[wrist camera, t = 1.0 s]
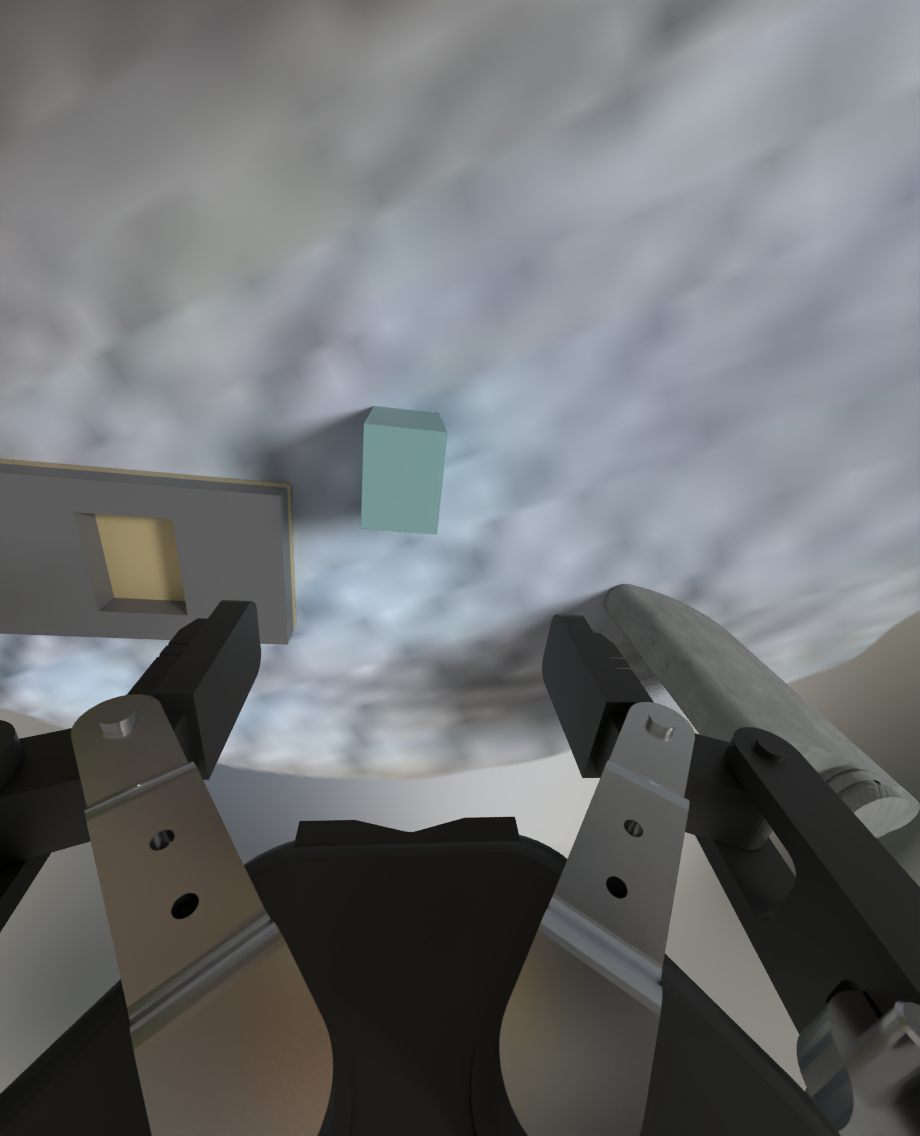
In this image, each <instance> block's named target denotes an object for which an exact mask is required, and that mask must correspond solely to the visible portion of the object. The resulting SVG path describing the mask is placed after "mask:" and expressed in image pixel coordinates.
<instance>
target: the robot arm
mask: <svg viewBox="0 0 920 1136" xmlns="http://www.w3.org/2000/svg"><path fill="white" fill-rule="evenodd" d="M260 661H261V646H260V636H259V625H258V615H257V607H256V604H255V602H254V601H239V600H222V601H220V603H219V604H218V605H217V607H216V608H215V609H214V611H213V612H212V613H211V615H210V616H209V617H208V619H207V618H197V619H196V620H194V621H193V622H191V623H189V624H188V625H186V626H184V627H183V628H181V629H180V630H179V631H178V632H177V633H176V635H175V636H174V637H173V638H172V639H171V641H170V642H169V645H168V646H166V647H165V648H164V649H163V651H162V652H161V653H160V656H159V657H157V658H156V659H155V660H154V662H153V663H152V664H151V665H150V667H149V668H148V669H147V670H146V672H145V673H144V674H143V675H142V677H141V678H140V679H139V680H138V682H137V683H136V684H135V685H134V686H133V688H132V689H131V690H130V691H129V693H128V694H127V695H125V696H120V697H116V698H112V699H110V700H107V701H104V702H102V703H100V704H98V705H96V706H94V707H92V708H91V709H89V710H88V711H86V712H85V713H84V714H83V715H82V716H80V717H79V718H78V720H77V721H76V722H75V723H74V725H73V727H72V728H70V729H66V730H61V731H56V732H51V733H47V734H41V735H36V736H31V737H26V738H21V739H19V738H18V736H17V733H16V731H15V728H14V727H13V725H11V724H10V723H8V722H6V721H2V720H0V932H1V930H2V929H3V927H4V926H5V924H6V923H7V921H8V919H9V918H10V916H11V915H12V913H13V912H14V910H15V909H16V907H17V905H18V904H19V902H20V901H21V899H22V898H23V896H24V894H25V893H26V891H27V890H28V888H29V887H30V885H31V883H32V882H33V880H34V879H35V877H36V876H37V874H38V873H39V871H40V869H41V868H42V866H43V865H44V863H45V862H46V860H47V858H48V857H49V855H50V854H51V852H55V851H58V850H62V849H65V848H69V847H72V846H76V845H79V844H83V843H86V842H89V841H91V845H92V849H93V854H94V859H95V863H96V867H97V873H98V876H99V882H100V886H101V891H102V895H103V900H104V904H105V909H106V914H107V918H108V923H109V927H110V932H111V936H112V941H113V945H114V950H115V954H116V959H117V964H118V968H119V973H120V977H121V979H120V980H119V981H118V982H117V983H116V984H115V985H114V986H113V987H112V988H111V989H110V990H109V991H108V992H107V993H105V995H103V996H102V998H100V999H99V1000H98V1001H97V1002H96V1003H95V1004H94V1005H93V1006H92V1007H91V1008H90V1009H89V1010H88V1011H87V1012H86V1013H84V1014H83V1015H82V1016H81V1017H80V1018H79V1019H78V1020H77V1021H76V1022H75V1023H74V1024H73V1025H72V1026H71V1027H70V1028H69V1029H68V1030H67V1031H66V1032H65V1033H64V1034H62V1035H61V1036H60V1037H59V1038H58V1039H57V1040H56V1041H55V1042H54V1043H53V1044H52V1045H51V1046H50V1047H49V1048H48V1049H47V1050H46V1051H45V1052H44V1053H42V1054H41V1055H40V1056H39V1057H38V1058H37V1059H36V1060H35V1061H34V1062H33V1063H32V1064H31V1065H30V1066H29V1067H28V1068H27V1069H26V1070H25V1071H24V1072H23V1073H21V1075H19V1076H18V1077H17V1078H16V1079H15V1080H14V1081H13V1082H12V1083H11V1084H10V1085H9V1086H8V1087H7V1088H6V1089H5V1090H4V1091H3V1092H2V1093H1V1094H0V1136H920V887H919V886H918V885H917V884H916V883H915V881H914V880H913V879H912V878H911V877H910V876H909V875H908V874H907V872H906V871H905V870H904V869H903V868H902V867H901V866H900V865H899V863H898V862H897V861H896V860H895V859H894V858H893V857H892V856H891V854H890V853H889V852H888V851H887V850H886V849H885V848H884V847H883V845H882V844H881V843H880V842H879V841H878V840H877V839H876V838H875V836H874V835H873V834H872V833H871V832H870V831H869V830H868V829H867V827H866V826H865V825H864V824H863V823H862V822H861V821H860V820H859V818H858V817H857V816H856V815H855V814H854V813H853V812H852V811H851V809H850V808H849V807H848V806H847V805H846V804H845V803H844V802H843V800H842V799H841V798H840V797H839V796H838V795H837V794H836V793H835V791H834V790H833V789H832V788H831V787H830V786H829V785H828V784H827V782H826V781H825V780H824V779H823V778H822V777H821V776H820V775H819V773H818V772H817V771H816V770H815V769H814V768H813V767H812V766H811V764H810V763H809V762H808V761H807V760H806V759H805V758H804V757H803V755H802V754H801V753H800V752H799V751H798V750H797V749H796V748H795V747H794V746H792V745H791V744H790V743H789V742H787V741H786V740H784V739H783V738H781V737H779V736H777V735H775V734H773V733H771V732H769V731H766V730H763V729H760V728H755V727H742V728H739V729H737V730H736V731H735V732H734V734H733V736H732V738H731V740H730V742H727V741H723V740H719V739H715V738H711V737H707V736H703V735H699V734H696V733H694V731H693V728H692V727H691V726H690V724H689V722H688V721H687V720H686V719H685V718H684V717H682V716H681V715H680V714H679V713H677V712H676V711H674V710H672V709H670V708H668V707H666V706H663V705H661V704H657V703H654V702H653V700H652V699H651V698H650V696H649V695H648V693H647V692H646V690H645V689H644V687H643V686H642V684H641V683H640V681H639V680H638V678H637V677H636V676H635V674H634V673H633V671H632V670H630V667H629V665H628V664H627V662H626V661H625V660H623V656H622V655H621V654H620V652H619V651H618V649H617V648H616V646H615V645H614V644H613V643H612V642H610V641H609V640H608V639H606V638H605V637H604V636H603V635H601V634H597V633H594V632H593V631H592V629H591V628H590V626H589V625H588V623H587V621H586V620H585V618H584V617H583V616H581V615H555V616H554V617H553V619H552V622H551V626H550V631H549V635H548V639H547V644H546V648H545V653H544V657H543V663H542V673H543V679H544V683H545V685H546V688H547V690H548V693H549V695H550V698H551V700H552V703H553V705H554V708H555V710H556V713H557V715H558V718H559V720H560V723H561V725H562V728H563V730H564V733H565V735H566V738H567V740H568V743H569V745H570V748H571V750H572V753H573V755H574V758H575V760H576V763H577V765H578V768H579V770H580V773H581V775H582V778H600V780H599V783H598V786H597V788H596V790H595V793H594V795H593V798H592V800H591V803H590V805H589V808H588V810H587V813H586V815H585V818H584V820H583V822H582V825H581V828H580V830H579V832H578V835H577V837H576V840H575V842H574V845H573V847H572V850H571V852H570V854H569V857H568V859H567V858H565V857H564V856H563V855H561V854H560V853H559V852H557V851H555V850H554V849H552V848H551V847H549V846H547V845H545V844H543V843H541V842H539V841H537V840H534V839H531V838H528V837H526V836H521V835H519V833H518V829H517V824H516V820H515V817H482V818H481V817H480V818H462V819H459V820H455V821H451V822H448V823H444V824H441V825H437V826H434V827H430V828H427V829H423V830H419V831H415V832H405V831H400V830H396V829H392V828H387V827H383V826H378V825H374V824H370V823H366V822H361V821H357V820H337V821H336V820H334V821H300V822H299V827H298V831H297V835H296V839H295V840H294V841H291V842H287V843H284V844H282V845H279V846H277V847H274V848H272V849H270V850H268V851H266V852H264V853H262V854H260V855H258V856H256V857H255V858H253V859H252V860H250V861H249V862H247V863H246V864H244V865H243V863H242V860H241V858H240V856H239V854H238V852H237V850H236V848H235V846H234V844H233V842H232V840H231V837H230V835H229V834H228V832H227V829H226V827H225V825H224V823H223V821H222V819H221V817H220V814H219V812H218V810H217V808H216V806H215V804H214V802H213V800H212V798H211V796H210V793H209V791H208V790H207V787H206V785H205V783H204V781H203V780H209V778H210V776H211V774H212V772H213V769H214V767H215V765H216V763H217V761H218V759H219V757H220V754H221V752H222V750H223V748H224V746H225V744H226V741H227V739H228V737H229V735H230V733H231V731H232V729H233V726H234V724H235V722H236V720H237V718H238V716H239V713H240V711H241V709H242V707H243V705H244V703H245V700H246V698H247V696H248V694H249V692H250V690H251V687H252V685H253V683H254V681H255V679H256V677H257V674H258V671H259V667H260ZM772 830H773V831H774V832H775V834H776V835H777V837H778V838H779V840H780V841H781V843H782V844H783V845H784V847H785V848H786V850H787V851H788V853H789V854H790V856H791V858H792V860H793V863H794V865H795V869H796V877H795V876H794V874H793V873H792V871H791V870H790V868H789V867H788V865H787V864H786V862H785V861H784V859H783V858H782V856H781V855H780V853H779V852H778V850H777V849H776V847H775V846H774V844H773V843H772V841H771V840H770V838H769V835H770V834H771V832H772ZM685 832H687V833H690V834H694V835H695V836H696V838H697V840H698V841H699V843H700V845H701V847H702V849H703V851H704V853H705V855H706V857H707V859H708V861H709V863H710V864H711V866H712V868H713V870H714V872H715V874H716V876H717V878H718V880H719V881H720V883H721V885H722V887H723V889H724V891H725V893H726V895H727V897H728V899H729V901H730V903H731V904H732V907H733V908H734V910H735V912H736V914H737V916H738V918H739V920H740V922H741V924H742V926H743V927H744V929H745V931H746V933H747V935H748V937H749V939H750V941H751V943H752V945H753V947H754V949H755V950H756V952H757V954H758V956H759V958H760V960H761V962H762V964H763V966H764V968H765V969H766V972H767V974H768V975H769V977H770V979H771V981H772V983H773V985H774V987H775V989H776V991H777V993H778V995H779V996H780V998H781V1000H782V1002H783V1004H784V1006H785V1008H786V1010H787V1012H788V1014H789V1016H790V1018H791V1019H792V1021H793V1023H794V1025H795V1027H796V1029H797V1031H798V1033H799V1037H798V1040H797V1059H798V1064H799V1068H800V1072H801V1074H802V1077H803V1080H804V1082H805V1085H806V1087H807V1088H806V1091H804V1090H803V1089H802V1088H801V1087H800V1086H799V1085H798V1084H797V1083H796V1082H795V1081H794V1080H793V1079H792V1078H791V1077H790V1076H789V1075H788V1074H787V1073H786V1072H785V1071H784V1070H783V1069H782V1068H781V1067H780V1066H779V1065H778V1064H777V1063H776V1062H775V1061H774V1060H773V1059H772V1058H771V1057H770V1056H769V1055H768V1054H767V1053H766V1052H765V1051H764V1050H763V1049H762V1048H761V1047H760V1046H759V1045H758V1044H757V1043H756V1042H755V1041H753V1040H752V1039H751V1038H750V1037H749V1036H748V1035H747V1034H746V1033H745V1032H744V1031H743V1030H742V1029H741V1028H740V1027H739V1026H738V1025H737V1024H736V1023H735V1022H734V1021H733V1020H732V1019H731V1018H730V1017H729V1016H728V1015H727V1014H726V1013H725V1012H724V1011H723V1010H722V1009H721V1008H720V1007H719V1006H718V1005H717V1004H716V1003H715V1002H714V1001H713V1000H712V999H711V998H710V997H708V995H707V994H706V993H704V991H703V990H702V989H701V988H699V986H698V985H697V984H696V983H694V982H693V981H692V980H691V979H690V978H689V977H688V976H687V975H686V974H685V973H684V972H683V971H682V970H681V969H680V968H679V967H678V966H677V965H676V964H675V963H674V962H673V961H672V960H671V959H670V958H669V957H668V956H667V955H666V954H665V948H666V942H667V936H668V930H669V923H670V918H671V912H672V906H673V900H674V894H675V888H676V882H677V876H678V870H679V864H680V858H681V852H682V846H683V840H684V834H685Z"/></svg>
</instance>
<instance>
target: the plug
mask: <svg viewBox="0 0 920 1136" xmlns="http://www.w3.org/2000/svg"><path fill="white" fill-rule="evenodd" d="M446 442H447V430H446V428H445V426H444V424H443V421H442V419H441V417H440V415H439V413H431V412H422V411H413V410H404V409H396V408H387V407H378V406H374V407H373V409H372V410H371V412H370V414H369V416H368V417H367V419H366V421H365V422H364V431H363V468H362V505H361V529H369V530H382V531H396V532H409V533H423V534H437V529H438V519H439V509H440V500H441V490H442V480H443V471H444V461H445V451H446Z"/></svg>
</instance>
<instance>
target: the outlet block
mask: <svg viewBox="0 0 920 1136" xmlns="http://www.w3.org/2000/svg"><path fill="white" fill-rule="evenodd" d="M222 600H239V601H254V602H255V604H256V607H257V615H258V625H259V636H260V643H262V644H288V643H289V640H290V638H291V635H292V633H293V630H294V628H295V626H296V604H295V579H294V554H293V530H292V505H291V484H287V483H276V482H264V481H252V480H241V479H229V478H218V477H206V476H194V475H183V474H171V473H159V472H148V471H136V470H124V469H113V468H101V467H90V466H78V465H66V464H55V463H43V462H31V461H20V460H8V459H0V633H3V634H29V635H55V636H81V637H106V638H132V639H158V640H171V639H172V638H173V637H174V636H175V635H176V633H177V632H178V631H179V630H180V629H181V628H183V627H184V626H186V625H188V624H189V623H191V622H193V621H194V620H196V619H197V618H207V619H208V617H209V616H210V615H211V613H212V612H213V611H214V609H215V608H216V607H217V605H218V604H219V603H220V601H222Z"/></svg>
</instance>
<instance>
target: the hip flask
mask: <svg viewBox="0 0 920 1136" xmlns="http://www.w3.org/2000/svg"><path fill="white" fill-rule="evenodd" d="M604 603H605V608H606V610H607V611H608V612H609V614H610V615H611V616H612V618H613V619H614V620H615V622H616V623H617V624H618V626H619V627H620V628H621V630H622V631H623V632H624V634H625V635H626V636H627V638H628V639H629V641H630V642H631V643H632V645H633V646H634V647H635V649H636V650H637V651H638V653H639V654H640V655H641V657H642V658H643V659H644V661H645V662H646V663H647V665H648V666H649V667H650V669H651V670H652V671H653V673H654V674H655V675H656V677H657V678H658V679H659V681H660V682H661V683H662V685H663V686H664V687H665V689H666V690H667V691H668V693H669V694H670V695H671V697H672V698H673V699H674V701H675V702H676V703H677V705H678V706H679V707H680V709H681V710H682V711H683V713H684V714H685V715H686V717H687V718H688V719H689V721H690V722H691V723H692V725H693V726H694V727H695V729H696V730H697V731H698V733H699V734H700V735H703V736H707V737H711V738H715V739H719V740H723V741H727V742H730V740H731V738H732V736H733V734H734V732H735V731H736V730H737V729H739V728H742V727H755V728H760V729H763V730H766V731H769V732H771V733H773V734H775V735H777V736H779V737H781V738H783V739H784V740H786V741H787V742H789V743H790V744H791V745H792V746H794V747H795V748H796V749H797V750H798V751H799V752H800V753H801V754H802V755H803V757H804V758H805V759H806V760H807V761H808V762H809V763H810V764H811V766H812V767H813V768H814V769H815V770H816V771H817V772H818V773H819V775H820V776H821V777H822V778H823V779H824V780H825V781H826V782H827V784H828V785H829V786H830V787H831V788H832V789H833V790H834V791H835V793H836V794H837V795H838V796H839V797H840V798H841V799H842V800H843V802H844V803H845V804H846V805H847V806H848V807H849V808H850V809H851V811H852V812H853V813H854V814H855V815H856V816H857V817H858V818H859V820H860V821H861V822H862V823H863V824H864V825H865V826H866V827H867V829H868V830H869V831H870V832H871V833H872V834H873V835H874V836H875V838H877V837H881V836H882V835H884V834H887V833H888V832H890V831H892V830H896V829H898V828H900V827H902V826H904V825H906V824H907V823H909V822H910V821H911V820H912V819H913V818H914V817H915V816H916V815H917V813H918V811H919V808H920V806H919V803H918V801H917V800H916V799H915V798H913V797H912V796H911V795H910V794H909V793H908V792H907V791H906V790H905V789H904V788H902V787H901V786H900V785H899V784H898V783H897V782H896V781H894V779H892V778H891V777H890V776H889V775H888V774H887V773H886V772H885V771H883V770H882V769H881V768H880V767H879V766H878V765H877V764H876V763H874V762H873V761H872V760H871V759H870V758H869V757H868V756H867V755H865V754H864V753H863V752H862V751H861V750H860V749H859V748H858V747H857V746H855V745H854V744H853V743H852V742H851V741H850V740H849V739H848V738H846V737H845V736H844V735H843V734H842V733H841V732H840V731H839V730H838V729H836V728H835V727H834V726H833V725H832V724H831V723H830V722H829V721H828V720H826V719H825V718H824V717H823V716H822V715H821V714H820V713H819V712H817V711H816V710H815V709H814V708H813V707H812V706H811V705H810V704H809V703H807V702H806V701H805V700H804V699H803V698H802V697H801V696H800V695H798V694H797V693H796V692H795V691H794V690H793V689H792V688H791V687H789V686H788V685H787V684H786V683H785V682H784V681H783V680H782V679H781V678H779V677H778V676H777V675H776V674H775V673H774V672H773V671H772V670H770V669H769V668H768V667H767V666H766V665H765V664H764V663H763V662H762V661H760V660H759V659H758V658H757V657H756V656H755V655H754V654H753V653H751V652H750V651H749V650H748V649H747V648H746V647H745V646H744V645H743V644H741V643H740V642H739V641H738V640H737V639H736V638H735V637H734V636H732V635H731V634H730V633H729V632H728V631H727V630H725V629H724V628H723V627H722V626H720V625H719V624H718V623H716V622H715V621H713V620H712V619H710V618H709V617H707V616H706V615H704V614H702V613H701V612H699V611H697V610H695V609H693V608H691V607H689V606H687V605H685V604H683V603H682V602H679V601H677V600H675V599H673V598H670V597H668V596H665V595H663V594H660V593H657V592H654V591H652V590H648V589H645V588H641V587H638V586H634V585H630V584H622V585H618V586H616V587H614V588H613V589H611V590H610V591H609V593H608V594H607V595H606V598H605V602H604Z"/></svg>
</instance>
